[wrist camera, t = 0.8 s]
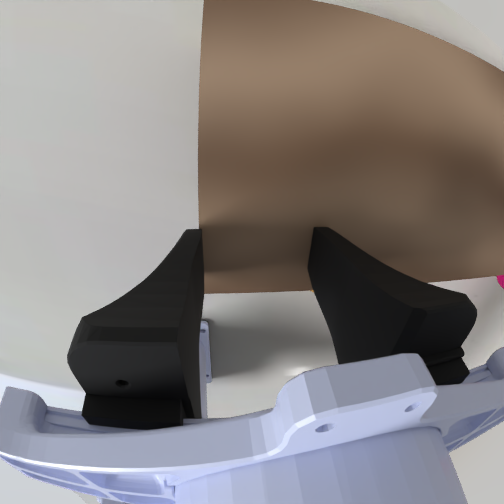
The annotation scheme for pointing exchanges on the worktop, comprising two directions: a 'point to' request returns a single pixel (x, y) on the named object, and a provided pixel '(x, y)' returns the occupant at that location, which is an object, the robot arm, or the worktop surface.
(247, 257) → the walnut shelf
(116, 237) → the worktop surface
